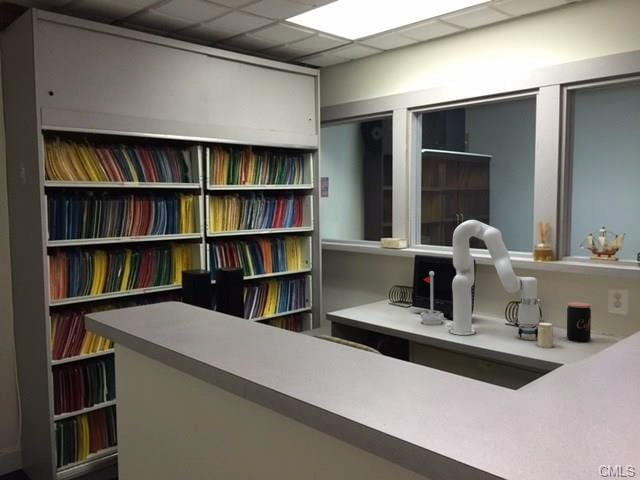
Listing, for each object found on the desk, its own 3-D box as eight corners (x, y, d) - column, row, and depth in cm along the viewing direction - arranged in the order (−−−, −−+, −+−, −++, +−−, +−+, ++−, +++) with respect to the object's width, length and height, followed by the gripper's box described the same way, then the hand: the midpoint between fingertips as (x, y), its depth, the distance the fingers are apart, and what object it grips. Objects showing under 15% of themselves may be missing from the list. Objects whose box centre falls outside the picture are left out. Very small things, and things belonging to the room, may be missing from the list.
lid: (530, 335, 267) (530, 331, 267) (518, 332, 273) (518, 329, 273) (538, 332, 271) (538, 329, 271) (526, 330, 277) (526, 326, 277)
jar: (536, 346, 256) (536, 324, 256) (538, 343, 262) (539, 321, 261) (551, 348, 253) (551, 326, 252) (553, 344, 259) (553, 323, 258)
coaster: (514, 338, 271) (514, 337, 271) (521, 334, 280) (521, 333, 280) (536, 341, 265) (536, 340, 264) (543, 337, 273) (543, 336, 273)
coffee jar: (577, 343, 260) (578, 306, 259) (561, 338, 270) (562, 302, 269) (595, 341, 263) (596, 305, 262) (579, 336, 273) (579, 301, 272)
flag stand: (446, 321, 313) (445, 270, 311) (440, 326, 302) (439, 273, 300) (424, 319, 319) (423, 269, 317) (417, 324, 308) (417, 272, 306)
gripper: (546, 301, 272) (546, 335, 273) (510, 299, 277) (510, 333, 279) (548, 303, 265) (547, 339, 266) (510, 302, 270) (510, 337, 272)
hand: (528, 336), depth 272 cm, fingers closed on lid, 6 cm apart
